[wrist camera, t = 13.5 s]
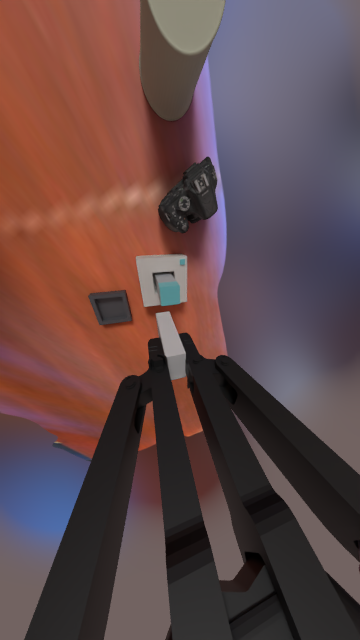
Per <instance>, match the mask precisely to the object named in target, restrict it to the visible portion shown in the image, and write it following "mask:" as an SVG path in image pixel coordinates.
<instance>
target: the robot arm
mask: <svg viewBox="0 0 360 640" xmlns="http://www.w3.org/2000/svg"><path fill="white" fill-rule="evenodd" d="M156 319H157V327H158V334H159V338H154V339H150V340H149V342H148V350H149V360H148V364H149V369H148V370H147V371H146V372H145V373H144V374H142V375H140V376H136V375H131V376H128V377H126V378H125V379H123V380H122V382H121V384H120V386H119V389H118V391H117V394H116V397H115V399H114V402H113V405H112V407H111V410H110V413H109V415H108V418H107V421H106V423H105V426H104V429H103V431H102V434H101V437H100V439H99V442H98V445H97V447H96V450H95V453H94V455H93V458H92V461H91V464H90V466H89V469H88V472H87V474H86V477H85V479H84V482H83V485H82V488H81V490H80V493H79V495H78V498H77V501H76V503H75V506H74V509H73V511H72V514H71V517H70V519H69V522H68V525H67V528H66V530H65V533H64V535H63V538H62V541H61V543H60V546H59V549H58V551H57V554H56V557H55V559H54V562H53V565H52V567H51V570H50V572H49V575H48V578H47V581H46V583H45V586H44V588H43V591H42V594H41V597H40V599H39V602H38V605H37V607H36V610H35V612H34V615H33V618H32V620H31V623H30V626H29V628H28V631H27V634H26V636H25V639H24V640H104V634H105V630H106V625H107V620H108V614H109V609H110V603H111V598H112V592H113V587H114V581H115V576H116V569H117V565H118V559H119V553H120V547H121V542H122V537H123V531H124V526H125V520H126V515H127V509H128V503H129V498H130V492H131V487H132V481H133V476H134V470H135V465H136V459H137V454H138V448H139V443H140V437H141V432H142V426H143V421H144V415H145V410H146V404H148V403H149V402H151V401H153V411H154V422H155V433H156V444H157V454H158V466H159V476H160V488H161V498H162V509H163V520H164V531H165V545H166V568H167V580H168V592H169V603H170V615H171V625H170V628H169V631H168V633H167V637H166V639H165V640H360V605H359V604H358V603H357V602H356V601H355V600H354V599H353V598H352V597H351V596H350V595H349V594H348V593H347V592H346V591H345V590H344V589H343V588H342V587H341V586H340V585H339V584H338V583H337V582H336V581H335V580H334V579H333V578H332V577H331V576H330V575H329V574H328V573H327V572H326V571H324V569H323V567H322V565H321V563H320V562H319V560H318V558H317V556H316V554H315V552H314V551H313V549H312V547H311V545H310V544H309V542H308V540H307V538H306V536H305V534H304V533H303V531H302V529H301V527H300V525H299V523H298V522H297V520H296V518H295V516H294V515H293V513H292V511H291V510H290V508H289V507H288V505H287V504H286V503H285V501H284V500H283V499H282V498H281V497H280V496H279V495H278V494H277V493H276V492H275V491H274V489H273V488H272V486H271V484H270V483H269V481H268V479H267V477H266V475H265V473H264V471H263V469H262V467H261V465H260V464H259V462H258V460H257V458H256V456H255V454H254V452H253V450H252V448H251V446H250V444H249V443H248V441H247V439H246V437H245V435H244V433H243V431H242V429H241V427H240V425H239V424H238V422H237V420H236V418H235V416H234V414H233V412H232V410H233V411H234V413H235V414H236V415H237V416H238V418H239V419H240V420H241V422H242V423H243V424H244V425H245V427H246V428H247V429H248V431H249V432H250V433H251V434H252V436H253V437H254V438H255V439H256V441H257V442H258V443H259V444H260V446H261V447H262V448H263V450H264V451H265V452H266V453H267V455H268V456H269V457H270V458H271V460H272V461H273V462H274V463H275V464H276V466H277V467H278V469H279V470H280V471H281V472H282V474H283V475H284V476H285V477H286V479H288V481H289V482H290V484H291V485H292V486H293V487H294V489H295V490H296V491H297V493H298V494H299V495H300V496H301V497H302V499H303V500H304V501H305V503H306V504H307V505H308V506H309V508H310V509H311V510H312V512H313V513H314V514H315V515H316V516H317V518H318V519H319V520H320V521H321V522H322V524H323V525H324V526H325V527H326V528H327V529H328V531H329V532H330V533H331V534H332V535H333V536H334V537H335V538H336V539H337V540H338V541H339V542H340V543H341V544H342V545H343V547H344V548H345V549H346V550H347V551H349V552H350V553H351V554H352V555H353V556H354V557H355V558H356V559H357V560H358V561H359V562H360V475H359V474H358V473H357V472H356V471H355V470H353V469H352V468H351V467H350V466H349V465H348V464H347V463H346V462H345V461H344V460H343V459H342V458H340V457H339V456H338V455H337V454H336V453H335V452H334V451H333V450H332V449H330V448H329V447H328V446H327V445H326V444H325V443H324V442H323V441H321V440H320V439H319V438H318V437H317V436H316V435H315V434H314V433H313V432H312V431H311V430H309V429H308V428H307V427H306V426H305V425H304V424H303V423H302V422H301V421H300V420H298V419H297V418H296V417H295V416H294V415H293V414H292V413H291V412H290V411H288V410H287V409H286V408H285V407H284V406H283V405H282V404H281V403H280V402H279V401H277V400H276V399H275V398H274V397H273V396H272V395H271V394H270V393H269V392H267V391H266V390H265V389H264V388H263V387H262V386H261V385H260V384H259V383H257V382H256V381H255V380H254V379H253V378H252V377H251V376H250V375H249V374H248V373H247V372H245V371H244V370H243V369H242V368H241V367H240V366H239V365H238V364H237V363H236V362H234V361H233V360H232V359H231V358H229V357H228V356H225V355H220V356H218V357H216V360H214V359H206V358H204V357H203V356H202V355H200V354H199V352H198V350H197V348H196V346H195V344H194V343H193V340H192V338H191V336H190V335H189V334H188V333H181V334H178V332H177V330H176V327H175V325H174V322H173V320H172V317H171V315H170V312H169V311H168V312H161V313H156ZM186 375H187V387H188V388H190V391H191V395H192V398H193V401H194V404H195V407H196V410H197V413H198V416H199V419H200V422H201V425H202V428H203V431H204V434H205V437H206V440H207V443H208V446H209V449H210V452H211V455H212V459H213V461H214V465H215V468H216V471H217V474H218V477H219V480H220V483H221V486H222V489H223V492H224V495H225V498H226V501H227V504H228V507H229V511H230V515H231V520H232V526H233V529H234V533H235V536H236V539H237V543H238V546H239V549H240V552H241V555H242V558H243V561H244V565H243V567H242V568H241V570H240V571H239V572H238V574H237V575H236V577H235V578H234V579H233V580H231V581H221V580H219V579H218V575H217V570H216V566H215V562H214V558H213V553H212V550H211V545H210V542H209V538H208V535H207V531H206V528H205V525H204V521H203V517H202V513H201V508H200V504H199V499H198V495H197V491H196V486H195V482H194V478H193V473H192V469H191V465H190V460H189V456H188V451H187V447H186V443H185V439H184V434H183V430H182V425H181V421H180V417H179V412H178V408H177V403H176V399H175V395H174V390H173V386H172V382H171V380H175V379H179V378H183V377H186ZM231 409H232V410H231ZM359 571H360V565H359Z"/></svg>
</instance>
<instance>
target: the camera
mask: <svg viewBox="0 0 360 640" xmlns="http://www.w3.org/2000/svg"><path fill="white" fill-rule="evenodd" d="M183 174H184V176H183V179H182V180H181V181H180V182H179V183H178V184H177V185H175V186H174V187H173V188H172V189H171V190H170V191H169V192H168V194H167V196H165V197H164V199H163V200H162V201H161V203H160V205H159V209H158V212H159V216H160V218H161V219H162V221H163V222H164V224H165V225H166V226H167V227H168V228H169V229H170V230H172V231H174V232H180V233H185V232H187V231H188V228H189V224H188V221H190V222H191V223H195V222H197V221H199V220H201V219H203V220H206V219H208V218H210V217H211V216H212V215H214V214H215V213H216V212H217V209H218V206H217V200H216V195H215V189H216V185H217V177H216V173H215V169H214V166H213V165H212V162H211V159H210V158H209V157H206V158H205V159H204V160H203V161H202V162H201V163H200V164H199V163H198V164H196V162H195V163H194V164H193V165H192V166H191V167H189V168H188V169H187V170H186V171H185V172H184V173H183Z"/></svg>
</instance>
